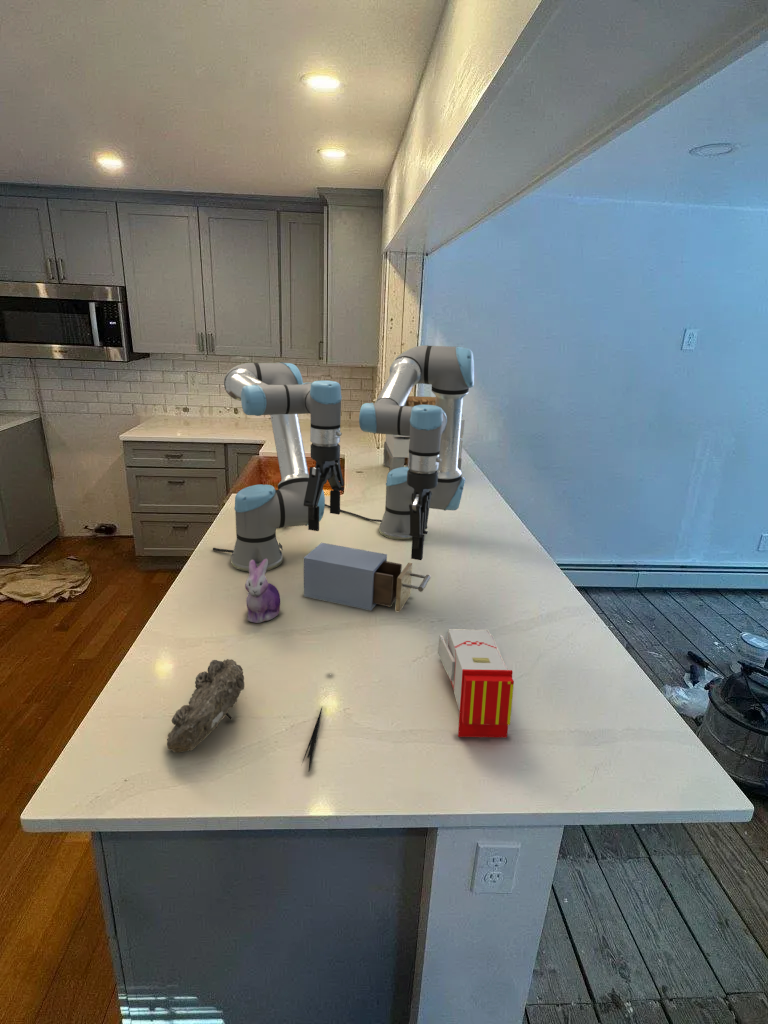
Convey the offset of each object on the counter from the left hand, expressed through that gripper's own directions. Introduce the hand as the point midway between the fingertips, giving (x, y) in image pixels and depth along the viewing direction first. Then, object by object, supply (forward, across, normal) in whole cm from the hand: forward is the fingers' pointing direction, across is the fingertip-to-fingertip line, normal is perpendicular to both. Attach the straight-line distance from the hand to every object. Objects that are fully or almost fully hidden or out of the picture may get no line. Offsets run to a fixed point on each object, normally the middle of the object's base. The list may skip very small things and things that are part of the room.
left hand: (324, 521), depth 151 cm
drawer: (+19, 0, -17) cm, 26 cm away
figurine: (+20, -19, +8) cm, 29 cm away
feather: (+20, -49, -21) cm, 57 cm away
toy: (+20, -29, -47) cm, 59 cm away
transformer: (+21, +128, +8) cm, 130 cm away
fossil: (+20, -55, -2) cm, 59 cm away
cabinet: (+20, 0, -6) cm, 21 cm away
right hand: (+6, 0, -26) cm, 27 cm away
